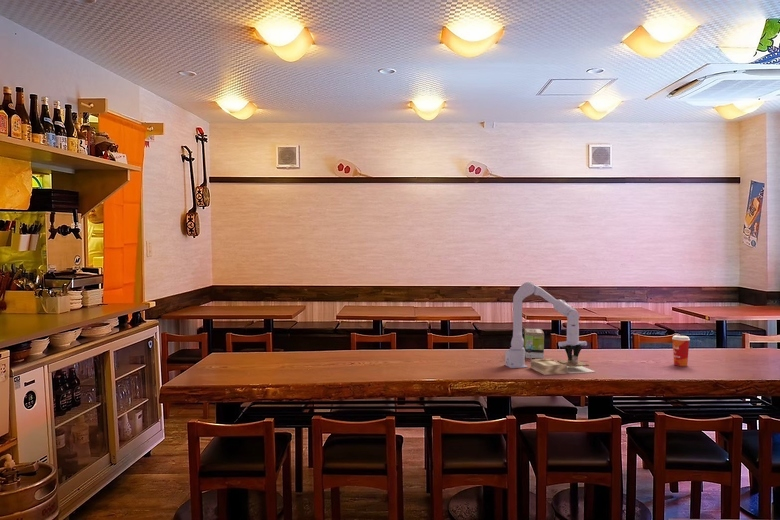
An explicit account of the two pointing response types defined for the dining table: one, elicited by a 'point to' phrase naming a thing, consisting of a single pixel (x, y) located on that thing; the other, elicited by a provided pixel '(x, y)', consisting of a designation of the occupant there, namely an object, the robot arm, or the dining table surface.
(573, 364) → the lid
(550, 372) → the case
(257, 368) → the dining table surface
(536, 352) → the tea box
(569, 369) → the mat
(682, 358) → the coffee cup
